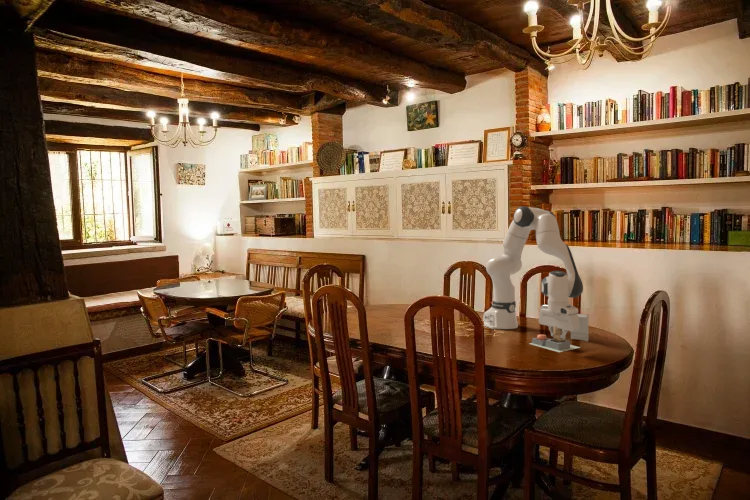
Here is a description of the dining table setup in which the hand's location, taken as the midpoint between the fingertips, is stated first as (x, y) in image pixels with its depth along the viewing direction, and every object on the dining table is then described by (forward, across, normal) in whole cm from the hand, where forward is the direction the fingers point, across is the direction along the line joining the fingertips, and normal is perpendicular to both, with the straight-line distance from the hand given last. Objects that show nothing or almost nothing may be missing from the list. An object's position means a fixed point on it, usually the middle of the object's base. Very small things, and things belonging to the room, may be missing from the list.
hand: (558, 337), depth 237 cm
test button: (+3, -9, -1) cm, 9 cm away
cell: (+3, 0, 0) cm, 3 cm away
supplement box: (+6, -6, +22) cm, 24 cm away
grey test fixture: (+6, -3, +1) cm, 7 cm away
